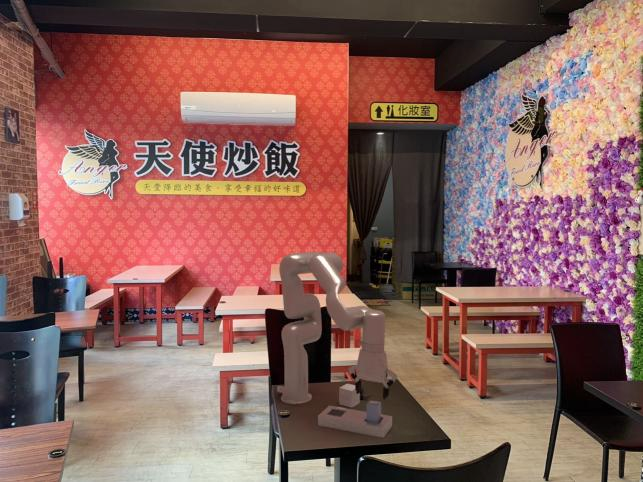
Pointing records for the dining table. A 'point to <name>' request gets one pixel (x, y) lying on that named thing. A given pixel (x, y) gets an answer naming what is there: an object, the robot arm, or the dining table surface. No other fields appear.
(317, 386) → the dining table surface
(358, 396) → the product box
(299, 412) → the dining table surface
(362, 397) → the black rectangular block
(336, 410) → the panel
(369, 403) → the plug
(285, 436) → the dining table surface
